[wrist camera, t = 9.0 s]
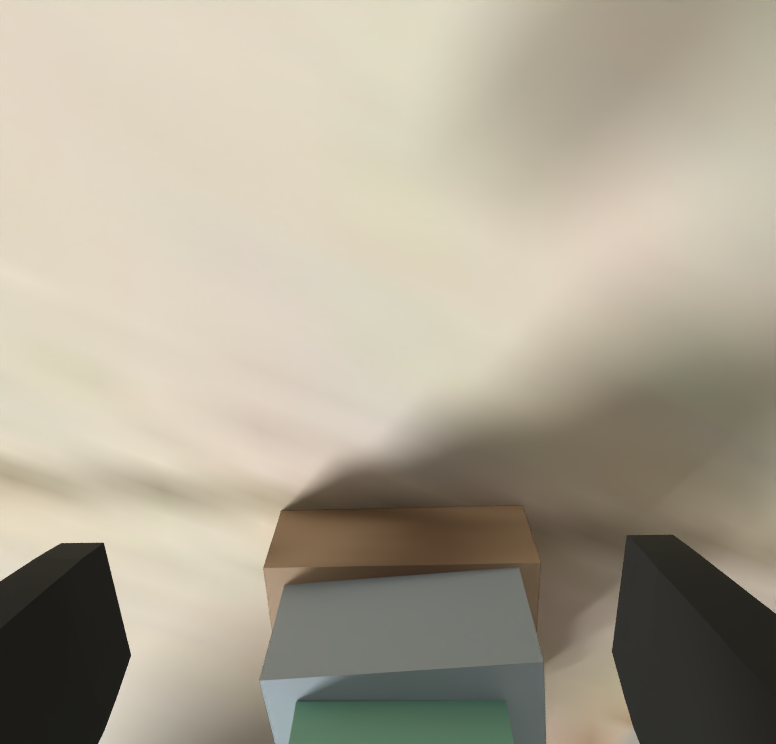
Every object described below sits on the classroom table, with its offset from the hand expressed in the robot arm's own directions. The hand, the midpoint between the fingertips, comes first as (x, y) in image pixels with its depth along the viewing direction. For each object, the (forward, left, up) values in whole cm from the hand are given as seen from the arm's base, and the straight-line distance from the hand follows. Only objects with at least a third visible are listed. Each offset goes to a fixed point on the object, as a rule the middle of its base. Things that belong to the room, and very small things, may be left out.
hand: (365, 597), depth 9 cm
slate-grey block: (+1, -8, -6) cm, 10 cm away
